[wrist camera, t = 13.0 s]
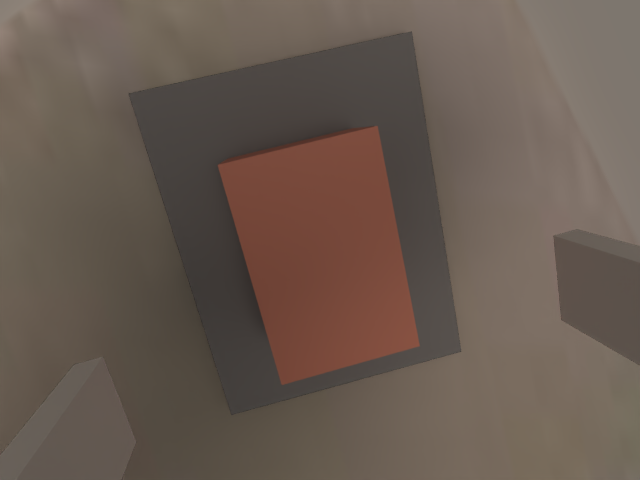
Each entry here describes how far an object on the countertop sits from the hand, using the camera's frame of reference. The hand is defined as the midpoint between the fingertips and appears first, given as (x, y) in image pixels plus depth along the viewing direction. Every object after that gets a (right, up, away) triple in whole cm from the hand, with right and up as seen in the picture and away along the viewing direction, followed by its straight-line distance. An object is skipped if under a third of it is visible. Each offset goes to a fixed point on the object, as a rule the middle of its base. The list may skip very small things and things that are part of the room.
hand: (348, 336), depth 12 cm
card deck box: (-1, +3, +11) cm, 11 cm away
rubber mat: (-1, +3, +12) cm, 12 cm away
